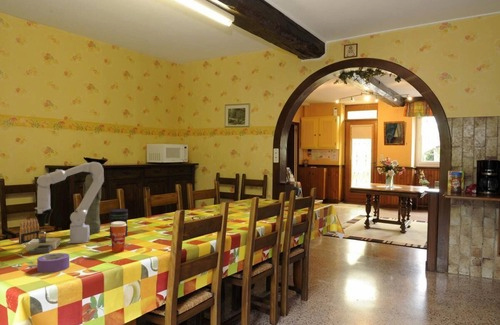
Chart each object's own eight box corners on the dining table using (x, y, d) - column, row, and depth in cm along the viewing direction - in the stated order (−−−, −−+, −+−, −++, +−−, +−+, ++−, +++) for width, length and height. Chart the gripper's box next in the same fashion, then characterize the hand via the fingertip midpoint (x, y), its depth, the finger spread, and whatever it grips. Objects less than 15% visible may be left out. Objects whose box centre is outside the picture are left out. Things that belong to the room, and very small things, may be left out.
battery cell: (46, 245, 181) (46, 230, 181) (44, 246, 178) (44, 231, 178) (39, 245, 180) (39, 230, 180) (37, 247, 177) (37, 232, 177)
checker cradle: (52, 249, 177) (52, 244, 177) (48, 252, 171) (48, 247, 171) (32, 250, 175) (32, 245, 175) (27, 253, 169) (27, 248, 169)
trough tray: (60, 243, 188) (60, 238, 188) (55, 249, 178) (55, 243, 178) (32, 245, 185) (32, 239, 185) (25, 250, 175) (25, 244, 175)
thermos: (96, 234, 209) (96, 174, 208) (78, 233, 211) (78, 174, 210) (105, 231, 218) (105, 174, 217) (88, 230, 220) (88, 173, 219)
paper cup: (110, 253, 172) (110, 224, 171) (108, 249, 178) (109, 221, 178) (127, 251, 175) (128, 223, 175) (125, 248, 182) (125, 220, 182)
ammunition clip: (21, 244, 186) (20, 221, 186) (18, 243, 187) (18, 220, 187) (40, 239, 196) (39, 217, 196) (37, 239, 197) (37, 217, 197)
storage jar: (105, 236, 205) (105, 210, 205) (118, 233, 214) (118, 208, 214) (119, 238, 202) (119, 212, 201) (131, 234, 211) (131, 209, 210)
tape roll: (31, 269, 148) (31, 257, 148) (59, 262, 158) (59, 251, 158) (47, 275, 142) (47, 262, 142) (75, 267, 152) (75, 255, 152)
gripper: (39, 197, 190) (39, 222, 190) (30, 201, 176) (30, 228, 176) (54, 196, 192) (54, 222, 192) (46, 200, 178) (46, 227, 178)
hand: (43, 225), depth 184 cm, fingers open, 7 cm apart
